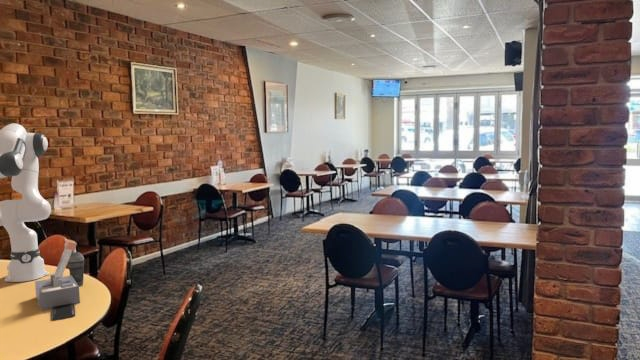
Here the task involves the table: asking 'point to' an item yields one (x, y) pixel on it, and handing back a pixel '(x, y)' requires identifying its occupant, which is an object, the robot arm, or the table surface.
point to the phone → (63, 311)
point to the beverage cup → (76, 267)
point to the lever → (64, 258)
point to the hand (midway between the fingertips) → (1, 224)
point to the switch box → (57, 292)
